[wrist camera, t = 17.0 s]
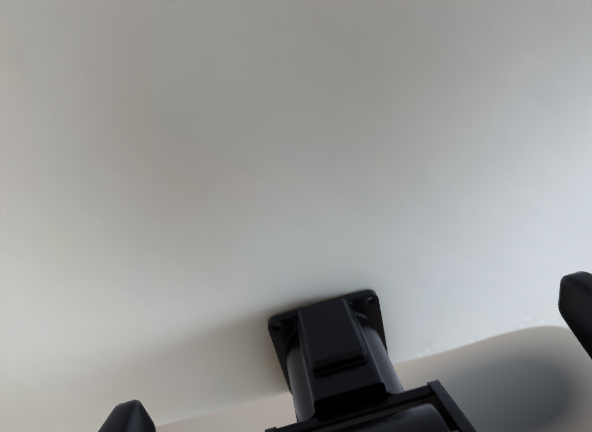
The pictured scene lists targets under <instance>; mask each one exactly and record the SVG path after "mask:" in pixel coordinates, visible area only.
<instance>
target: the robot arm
mask: <svg viewBox="0 0 592 432" xmlns="http://www.w3.org/2000/svg"><path fill="white" fill-rule="evenodd" d="M368 298H371V299H370V300H367V299H368ZM558 308H559V311H560V314H561V316H562V317H563V319H564V320H565V322H566V323H567V325H568V326H569V328H570V329H571V330H572V332H573V333H574V334H575V336H576V337H577V339H578V340H579V342H580V343H581V345H582V346H583V348H584V349H585V350H586V352H587V353H588V355H589V356H590V357H591V359H592V274H591V273H588V272H583V271H581V272H576V273H573V274H569V275H566V276H564V277H563V278H562V279H561V282H560V291H559V301H558ZM276 324H279V325H278V326H274V325H276ZM268 330H269V333H270V336H271V339H272V342H273V345H274V347H275V350H276V353H277V356H278V359H279V362H280V364H281V367H282V370H283V373H284V376H285V379H286V382H287V384H288V387H289V390H290V393H291V394H292V395H293V401H294V407H295V413H296V418H297V423H294V424H291V425H287V426H284V427H280V428H276V427H273V428H269V429H266V430H265V432H477V431H476V430H475V429H474V427H473V426H472V425H471V423H470V422H469V420H468V419H467V418H466V417H465V415H464V414H463V413H462V411H461V410H460V409H459V407H458V406H457V405H456V403H455V402H454V401H453V399H452V398H451V397H450V395H449V394H448V393H447V391H446V390H445V389H444V387H443V386H442V385H441V383H440V382H439V381H438V380H435V381H431V382H428V383H427V385H424V386H421V387H418V388H414V389H411V390H407V391H404V390H403V387H402V385H401V383H400V381H399V378H398V376H397V374H396V372H395V370H394V367H393V365H392V363H391V361H390V359H389V356H388V352H387V346H386V340H385V334H384V328H383V322H382V316H381V310H380V304H379V299H378V296H377V294H376V292H375V291H373V290H366V291H362V292H359V293H355V294H352V295H348V296H345V297H341V298H337V299H334V300H330V301H327V302H323V303H320V304H316V305H313V306H309V307H306V308H302V309H299V310H295V311H292V312H288V313H285V314H281V315H277V316H274V317H272V318H270V319H269V320H268ZM98 432H156V428H155V425H154V423H153V421H152V419H151V418H150V416H149V415H148V413H147V411H146V410H145V408H144V407H143V405H142V403H141V402H140V401H138V400H132V401H128V402H125V403H121V404H119V405H117V406H116V407H115V408H114V409H113V411H112V412H111V414H110V415H109V417H108V418H107V420H106V421H105V422H104V424H103V425H102V427H101V428H100V430H99V431H98Z"/></svg>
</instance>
